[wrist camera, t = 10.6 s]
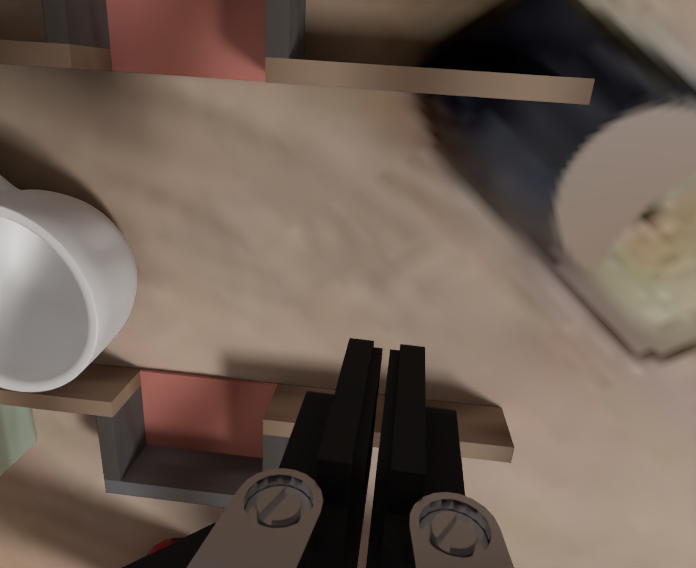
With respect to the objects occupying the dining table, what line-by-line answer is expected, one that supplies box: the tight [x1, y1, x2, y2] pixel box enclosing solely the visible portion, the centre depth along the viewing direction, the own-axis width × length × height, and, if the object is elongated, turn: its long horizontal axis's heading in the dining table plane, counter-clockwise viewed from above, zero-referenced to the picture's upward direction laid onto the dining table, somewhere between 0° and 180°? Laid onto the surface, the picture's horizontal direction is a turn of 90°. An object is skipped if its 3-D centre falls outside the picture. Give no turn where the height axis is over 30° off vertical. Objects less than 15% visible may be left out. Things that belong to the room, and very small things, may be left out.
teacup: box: [0, 175, 138, 392], centre depth 22 cm, size 10×8×5 cm
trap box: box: [0, 0, 595, 507], centre depth 22 cm, size 26×25×3 cm
